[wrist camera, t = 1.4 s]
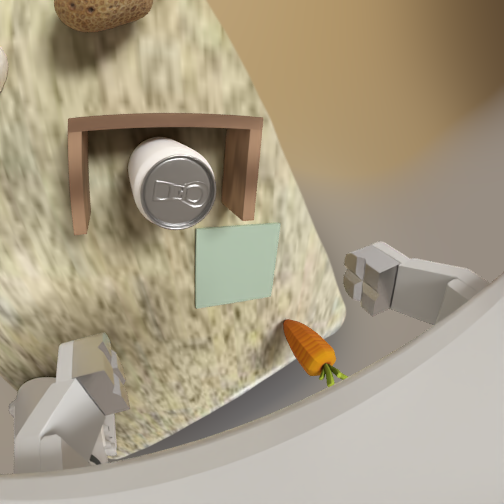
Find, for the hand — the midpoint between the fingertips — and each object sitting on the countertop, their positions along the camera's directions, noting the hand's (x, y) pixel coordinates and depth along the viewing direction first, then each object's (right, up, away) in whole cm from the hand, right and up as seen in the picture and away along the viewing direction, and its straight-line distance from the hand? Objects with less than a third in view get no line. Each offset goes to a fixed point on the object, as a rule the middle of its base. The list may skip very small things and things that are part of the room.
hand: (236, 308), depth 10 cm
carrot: (+6, -9, +40) cm, 41 cm away
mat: (-2, 0, +31) cm, 31 cm away
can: (-10, +11, +22) cm, 27 cm away
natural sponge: (-14, +27, +12) cm, 32 cm away
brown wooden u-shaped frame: (-9, +11, +22) cm, 26 cm away
